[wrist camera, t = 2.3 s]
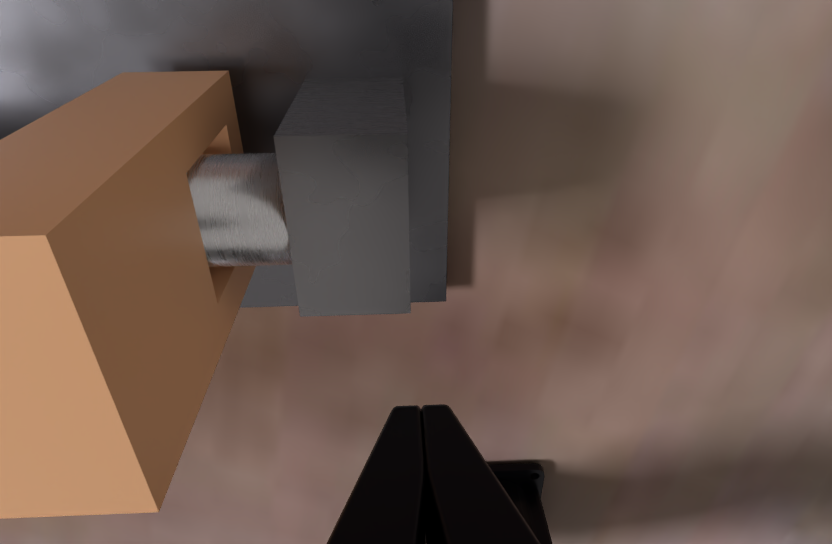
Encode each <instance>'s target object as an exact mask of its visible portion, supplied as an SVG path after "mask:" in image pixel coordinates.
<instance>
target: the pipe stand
mask: <svg viewBox="0 0 832 544" xmlns="http://www.w3.org/2000/svg"><path fill="white" fill-rule="evenodd" d="M452 18H453V0H0V140H1V139H3V138H4V137H6V136H8V135H10V134H12V133H14V132H15V131H17V130H19V129H21V128H23V127H24V126H26V125H28V124H30V123H32V122H34V121H35V120H37V119H39V118H41V117H43V116H44V115H46V114H48V113H50V112H52V111H53V110H55V109H57V108H59V107H61V106H63V105H64V104H66V103H68V102H70V101H72V100H73V99H75V98H77V97H79V96H81V95H83V94H84V93H86V92H88V91H90V90H92V89H93V88H95V87H97V86H99V85H101V84H103V83H104V82H106V81H108V80H110V79H112V78H113V77H115V76H117V75H119V74H121V73H123V72H175V71H229V75H230V80H231V86H232V92H233V97H234V103H235V108H236V114H237V119H238V125H239V130H240V136H241V142H242V147H243V153H244V154H202V155H201V156H200V157H199V158H198V159H197V161H196V162H195V163H194V164H193V166H192V167H191V168H190V169H189V170H188V172H187V173H186V175H187V179H188V183H189V187H190V191H191V195H192V199H193V204H194V208H195V212H196V216H197V220H198V224H199V228H200V232H201V237H202V241H203V245H204V249H205V253H206V257H207V261H208V266H209V267H225V266H256V267H255V270H254V272H253V275H252V277H251V280H250V282H249V285H248V287H247V290H246V292H245V295H244V297H243V300H242V302H241V305H240V307H274V306H299V312H300V317H302V316H335V315H368V314H400V313H411V308H410V302H439V301H446V276H447V233H448V190H449V147H450V104H451V61H452Z"/></svg>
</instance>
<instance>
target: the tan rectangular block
mask: <svg viewBox="0 0 832 544" xmlns="http://www.w3.org/2000/svg"><path fill="white" fill-rule="evenodd" d="M202 154H244V153H243V147H242V142H241V136H240V130H239V125H238V119H237V114H236V108H235V103H234V97H233V92H232V86H231V80H230V75H229V71H175V72H123V73H121V74H119V75H117V76H115V77H113V78H112V79H110V80H108V81H106V82H104V83H103V84H101V85H99V86H97V87H95V88H93V89H92V90H90V91H88V92H86V93H84V94H83V95H81V96H79V97H77V98H75V99H73V100H72V101H70V102H68V103H66V104H64V105H63V106H61V107H59V108H57V109H55V110H53V111H52V112H50V113H48V114H46V115H44V116H43V117H41V118H39V119H37V120H35V121H34V122H32V123H30V124H28V125H26V126H24V127H23V128H21V129H19V130H17V131H15V132H14V133H12V134H10V135H8V136H6V137H4V138H3V139H1V140H0V519H1V518H26V517H51V516H76V515H101V514H125V513H150V512H159V510H160V508H161V505H162V503H163V500H164V498H165V495H166V493H167V490H168V488H169V485H170V483H171V480H172V477H173V475H174V472H175V470H176V467H177V465H178V462H179V460H180V457H181V455H182V452H183V450H184V447H185V444H186V442H187V439H188V437H189V434H190V432H191V429H192V427H193V424H194V422H195V419H196V417H197V414H198V412H199V409H200V406H201V404H202V401H203V399H204V396H205V394H206V391H207V389H208V386H209V384H210V381H211V379H212V376H213V373H214V371H215V368H216V366H217V363H218V361H219V358H220V356H221V353H222V351H223V348H224V346H225V343H226V341H227V338H228V335H229V333H230V330H231V328H232V325H233V323H234V320H235V318H236V315H237V313H238V310H239V308H240V305H241V302H242V300H243V297H244V295H245V292H246V290H247V287H248V285H249V282H250V280H251V277H252V275H253V272H254V270H255V267H256V266H225V267H209V266H208V261H207V257H206V253H205V249H204V245H203V241H202V237H201V232H200V228H199V224H198V220H197V216H196V212H195V208H194V204H193V199H192V195H191V191H190V187H189V183H188V179H187V175H186V173H187V172H188V170H189V169H190V168H191V167H192V166H193V164H194V163H195V162H196V161H197V159H198V158H199V157H200V156H201V155H202Z"/></svg>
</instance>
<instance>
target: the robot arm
mask: <svg viewBox="0 0 832 544" xmlns="http://www.w3.org/2000/svg"><path fill="white" fill-rule="evenodd" d="M543 481H544V471H543V468H542V466H541V465H540V464H536V463H528V464H502V465H488V464H487V463H486V461H485V460H484V458H483V457H482V455H481V454H480V452H479V450H478V449H477V447H476V446H475V444H474V443H473V441H472V440H471V438H470V437H469V435H468V434H467V432H466V431H465V429H464V428H463V426H462V425H461V423H460V422H459V420H458V419H457V417H456V416H455V414H454V413H453V411H452V410H451V408H450V407H449V406H447V405H424V406H423V407H422V409H420V407H419V406H396V407H394V408H393V409H392V411H391V413H390V415H389V417H388V419H387V421H386V423H385V425H384V427H383V429H382V431H381V433H380V435H379V437H378V439H377V441H376V444H375V446H374V448H373V450H372V452H371V454H370V456H369V458H368V460H367V462H366V464H365V466H364V468H363V470H362V472H361V474H360V476H359V478H358V480H357V482H356V485H355V487H354V489H353V491H352V493H351V495H350V497H349V499H348V501H347V503H346V505H345V507H344V509H343V511H342V513H341V515H340V517H339V519H338V521H337V524H336V526H335V528H334V530H333V532H332V534H331V536H330V538H329V540H328V542H327V544H552V541H551V537H550V533H549V529H548V525H547V521H546V518H545V514H544V510H543V506H542V502H541V493H542V487H543Z"/></svg>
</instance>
